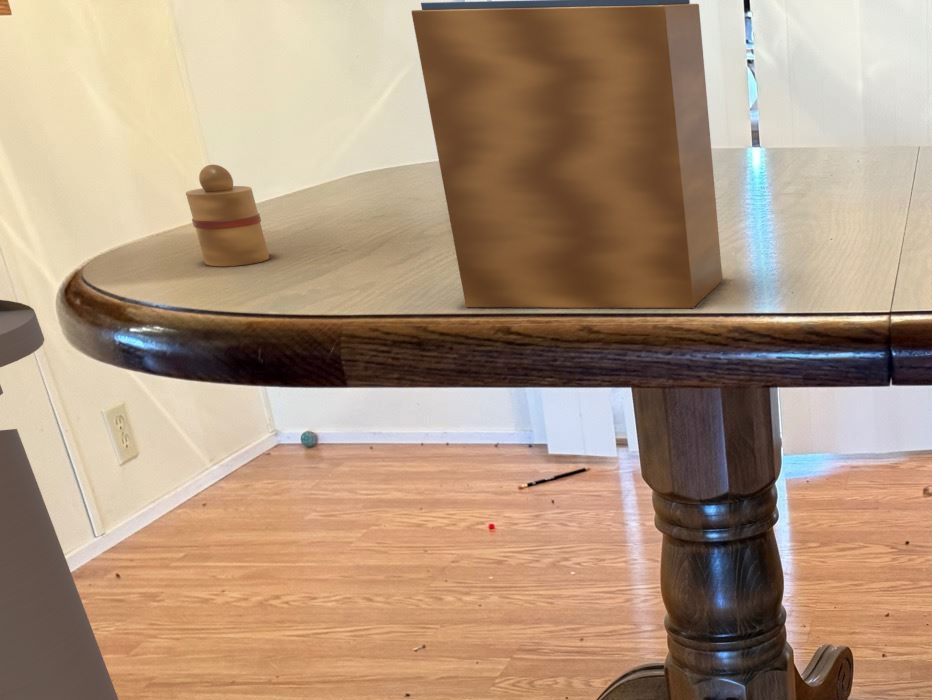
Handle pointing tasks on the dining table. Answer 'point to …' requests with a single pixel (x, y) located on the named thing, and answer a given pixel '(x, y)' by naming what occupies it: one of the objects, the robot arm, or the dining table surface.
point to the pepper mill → (226, 220)
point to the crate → (574, 154)
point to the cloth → (544, 4)
